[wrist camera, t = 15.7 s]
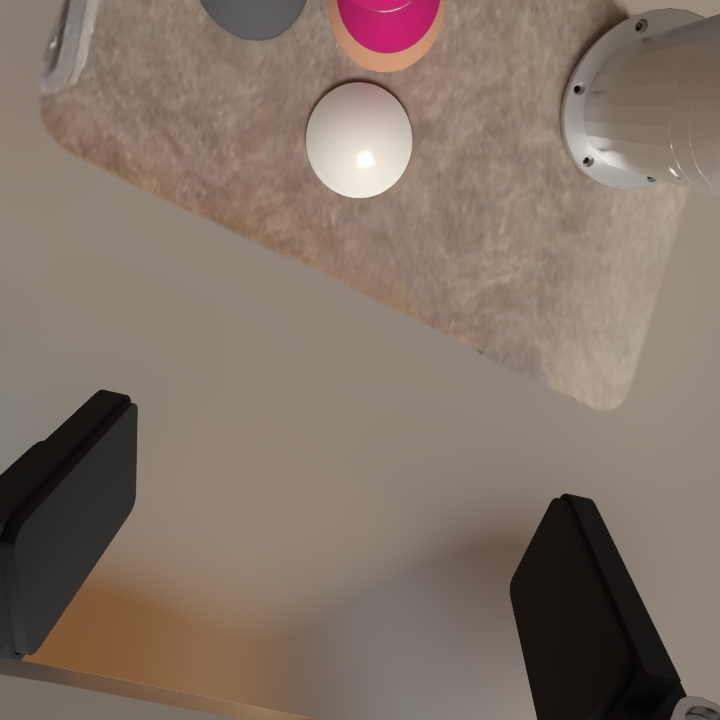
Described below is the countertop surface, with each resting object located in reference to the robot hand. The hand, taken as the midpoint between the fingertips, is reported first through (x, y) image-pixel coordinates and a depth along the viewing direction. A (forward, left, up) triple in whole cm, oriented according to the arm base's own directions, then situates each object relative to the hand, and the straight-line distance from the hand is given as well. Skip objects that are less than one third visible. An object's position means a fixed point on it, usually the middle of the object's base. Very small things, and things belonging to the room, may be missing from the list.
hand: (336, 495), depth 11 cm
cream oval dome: (+3, -4, -39) cm, 39 cm away
